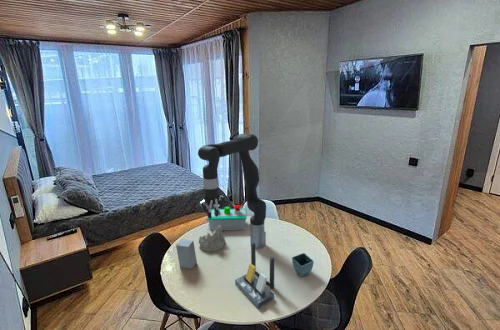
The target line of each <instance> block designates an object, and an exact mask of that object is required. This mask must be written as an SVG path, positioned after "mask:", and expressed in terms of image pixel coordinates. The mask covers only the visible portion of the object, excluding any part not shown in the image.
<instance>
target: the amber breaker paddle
mask: <svg viewBox="0 0 500 330" xmlns="http://www.w3.org/2000/svg"><path fill="white" fill-rule="evenodd" d="M255 271H257V267H255V266H254V265H253V264H251V263H249V265H248V268H247V272H246V274H245V275H246V279H247V280H248V281H249V282H251V281H253V278H254V276H255V275H256V274H255Z"/></svg>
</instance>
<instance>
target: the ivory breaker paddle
mask: <svg viewBox="0 0 500 330" xmlns="http://www.w3.org/2000/svg"><path fill="white" fill-rule="evenodd" d="M259 274H260V275H259V276H258V278H257V279H258V282H257V286H256V289H257V290H258V291H259V292H260V293H261V292H263V291H264V288H265V286H266V285H267V284H266V281H268V276H266V275H265V274H264V272H263V273H259Z"/></svg>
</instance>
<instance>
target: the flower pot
mask: <svg viewBox="0 0 500 330" xmlns="http://www.w3.org/2000/svg"><path fill="white" fill-rule="evenodd" d="M291 261H292V266H293V270H295V272H296V273H297V274H298V275H299V276H300V277H304V276H306V275H308V274H310V273H311V272H312V269H313V267H314V262H315V261H314V260H313V259H312V258H311V257H310V256H308V255H307V254H306V253H305V252H303V253H300V254H297V255H295V256H292V257H291Z"/></svg>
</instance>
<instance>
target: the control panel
mask: <svg viewBox="0 0 500 330" xmlns="http://www.w3.org/2000/svg"><path fill="white" fill-rule="evenodd" d="M241 207H242V205H240V204H235V205H233V208H230V206H225V207H224V208H219V209H218V212H219V214H218V216H217V217H216V216H215V213H214V209H215V208H211V217H212V218H211V219H210V218H208V217H207V216H206V220H207V221H208V225H207V227H206V229H207V230H208V231H212V229H216V228H218V226H221V229H222V231H236V230H237V231H241V230H248V229H249V223H248V222H249V221H248V222H247V221H246V220H247V219H248V218H247V216H248V215H247V212H248V211H247V208H241Z"/></svg>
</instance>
